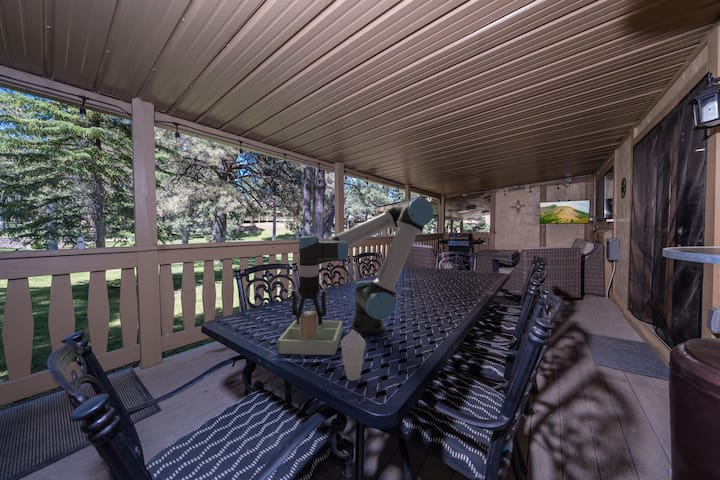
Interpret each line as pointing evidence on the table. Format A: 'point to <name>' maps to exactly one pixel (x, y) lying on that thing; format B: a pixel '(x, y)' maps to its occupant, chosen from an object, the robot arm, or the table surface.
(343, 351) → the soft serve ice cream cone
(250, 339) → the table surface
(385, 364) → the table surface
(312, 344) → the tray
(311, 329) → the jar
